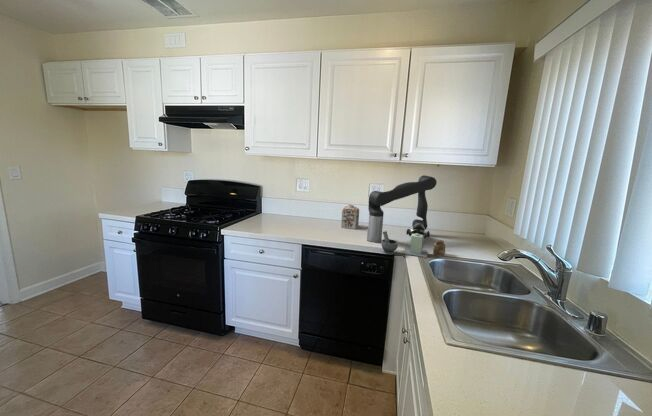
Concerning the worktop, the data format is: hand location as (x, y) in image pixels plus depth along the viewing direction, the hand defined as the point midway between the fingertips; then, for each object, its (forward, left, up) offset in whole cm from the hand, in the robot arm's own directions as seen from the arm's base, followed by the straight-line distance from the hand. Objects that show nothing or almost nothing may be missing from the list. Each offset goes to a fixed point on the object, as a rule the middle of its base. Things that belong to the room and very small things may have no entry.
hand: (417, 235), depth 170 cm
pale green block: (0, -11, -7) cm, 13 cm away
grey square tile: (0, -11, -8) cm, 13 cm away
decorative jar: (-52, +29, -8) cm, 60 cm away
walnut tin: (+13, -7, -8) cm, 17 cm away
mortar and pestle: (-15, -18, -8) cm, 25 cm away
